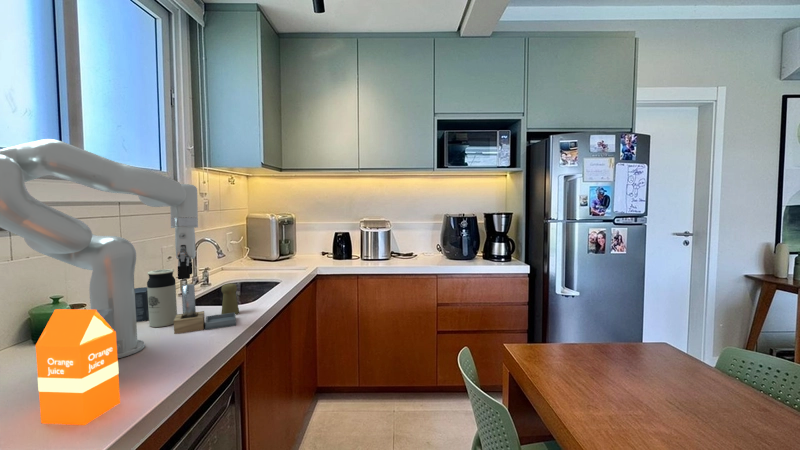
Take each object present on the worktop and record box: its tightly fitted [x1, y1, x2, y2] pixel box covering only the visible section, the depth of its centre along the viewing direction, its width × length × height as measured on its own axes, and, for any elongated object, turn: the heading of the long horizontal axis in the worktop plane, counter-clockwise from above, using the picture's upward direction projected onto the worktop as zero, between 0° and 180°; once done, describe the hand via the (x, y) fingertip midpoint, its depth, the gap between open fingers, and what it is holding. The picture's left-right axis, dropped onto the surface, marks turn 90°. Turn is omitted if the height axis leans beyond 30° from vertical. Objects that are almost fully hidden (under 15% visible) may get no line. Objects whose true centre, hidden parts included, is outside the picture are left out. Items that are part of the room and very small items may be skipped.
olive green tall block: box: [220, 283, 240, 315], centre depth 134 cm, size 6×6×11 cm
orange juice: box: [34, 308, 121, 426], centre depth 70 cm, size 8×9×20 cm
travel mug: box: [146, 268, 178, 328], centre depth 124 cm, size 8×8×18 cm
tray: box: [204, 313, 237, 331], centre depth 123 cm, size 9×9×2 cm
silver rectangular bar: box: [180, 283, 197, 319], centre depth 119 cm, size 4×4×14 cm
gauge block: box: [173, 310, 206, 335], centre depth 119 cm, size 8×8×4 cm
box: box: [134, 286, 149, 323], centre depth 130 cm, size 8×6×11 cm
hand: (185, 276), depth 118 cm, fingers open, 9 cm apart
